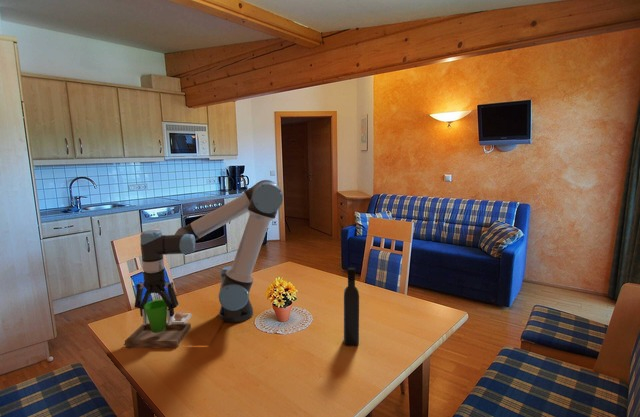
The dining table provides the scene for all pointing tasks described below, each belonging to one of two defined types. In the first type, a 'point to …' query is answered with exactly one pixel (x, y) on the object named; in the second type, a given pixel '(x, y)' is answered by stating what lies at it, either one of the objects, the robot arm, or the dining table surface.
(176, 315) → the ball
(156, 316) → the cup
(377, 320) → the dining table surface
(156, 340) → the tray
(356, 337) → the wine bottle
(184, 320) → the dish
